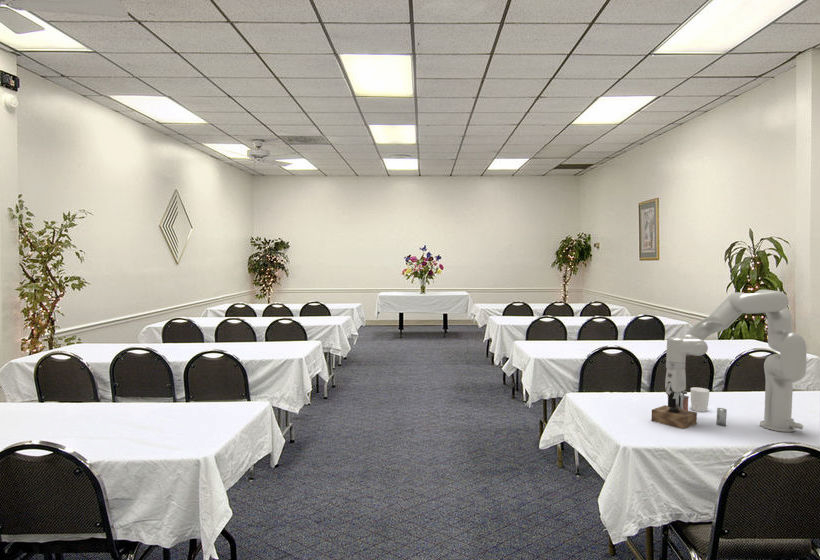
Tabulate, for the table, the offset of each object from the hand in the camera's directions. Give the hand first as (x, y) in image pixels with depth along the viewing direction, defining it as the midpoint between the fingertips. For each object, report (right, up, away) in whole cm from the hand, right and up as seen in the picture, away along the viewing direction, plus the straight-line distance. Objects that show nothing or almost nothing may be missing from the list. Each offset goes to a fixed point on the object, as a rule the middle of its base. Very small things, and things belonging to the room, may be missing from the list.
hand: (674, 406), depth 228 cm
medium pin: (+7, -7, +9) cm, 13 cm away
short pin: (+19, -8, -3) cm, 21 cm away
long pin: (0, -4, 0) cm, 4 cm away
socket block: (0, -7, 0) cm, 7 cm away
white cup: (+22, -7, +20) cm, 31 cm away
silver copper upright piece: (+11, -7, +18) cm, 22 cm away
